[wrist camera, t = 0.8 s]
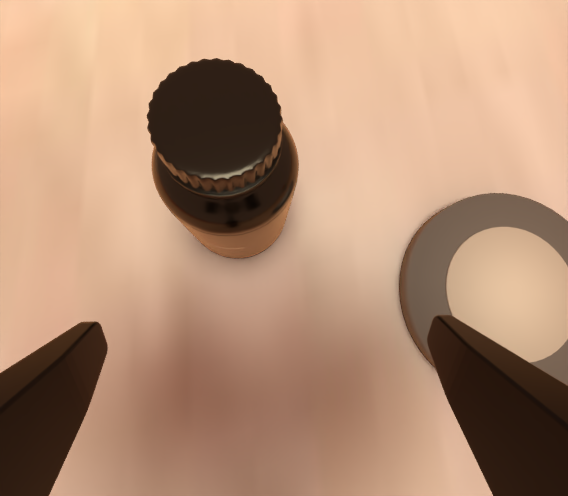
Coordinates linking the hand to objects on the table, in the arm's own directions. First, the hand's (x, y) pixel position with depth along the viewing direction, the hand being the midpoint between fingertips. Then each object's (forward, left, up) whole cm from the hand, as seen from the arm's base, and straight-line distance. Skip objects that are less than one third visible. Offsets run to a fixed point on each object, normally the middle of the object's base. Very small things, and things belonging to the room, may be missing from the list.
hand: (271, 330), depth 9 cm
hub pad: (+14, -8, -13) cm, 21 cm away
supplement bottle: (+2, +7, -14) cm, 15 cm away
